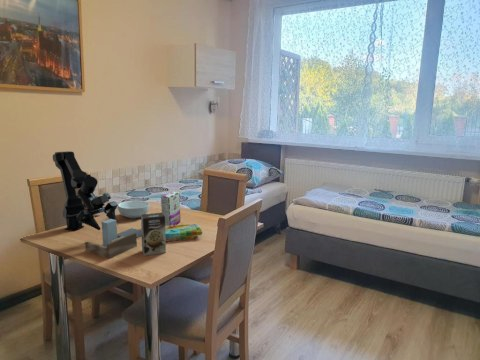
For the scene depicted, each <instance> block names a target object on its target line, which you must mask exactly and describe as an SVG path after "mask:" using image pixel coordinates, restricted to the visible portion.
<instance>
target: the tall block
mask: <svg viewBox="0 0 480 360" xmlns="http://www.w3.org/2000/svg"><path fill="white" fill-rule="evenodd" d="M116 220H117V219H116ZM116 220H114V219H109V218H108V219H107V220H103V221H101V233H102V246H105V247H107V244H108V243H110V241H112V240H115V239H117V238H118V237H117V234H118V222H117V223H116Z"/></svg>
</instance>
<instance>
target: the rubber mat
mask: <svg viewBox="0 0 480 360" xmlns="http://www.w3.org/2000/svg"><path fill="white" fill-rule="evenodd" d="M132 233H136V237H137V239H138V238H142V230H141V229H137V228H132V227H131V228H128V229H125V230H124V231H121V232H119V233H118V232H117V238H120V237H122V236H127V235H130V234H132Z"/></svg>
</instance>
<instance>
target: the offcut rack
mask: <svg viewBox="0 0 480 360" xmlns="http://www.w3.org/2000/svg"><path fill="white" fill-rule="evenodd" d="M137 241H138V238H137V237H136V233H132V234H130V235H127V236H122V237H117V239H115V240H112V241H110V243H108V244H107V247H105V246H103V245H101V244H96V243H94V242H89V241H85V242H84V247H85V249H84V251H85V252H86V253H89V254H93V255H96V256H99V257H103V258H107V259H113V258H114V257H117V256H119V255H121V254H123V253H126V252H127V251H129V250H131V249H134V248H135V247H138V242H137Z"/></svg>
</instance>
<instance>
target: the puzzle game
mask: <svg viewBox="0 0 480 360" xmlns="http://www.w3.org/2000/svg"><path fill="white" fill-rule="evenodd" d="M201 235H203V231H202V228H201V227H200V224H198V223H192V224H191V223H188V224H176V225H171V226H165V237H166V242H171V241H181V240H182V241H183V240H193V239H195V237H196V236H201Z"/></svg>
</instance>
